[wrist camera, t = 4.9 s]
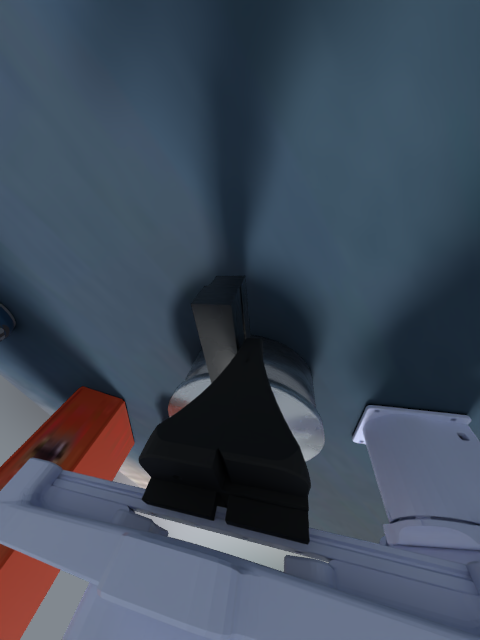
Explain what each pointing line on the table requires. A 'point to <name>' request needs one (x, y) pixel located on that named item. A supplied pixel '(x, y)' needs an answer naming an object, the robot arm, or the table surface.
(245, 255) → the table surface
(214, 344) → the cooker lid
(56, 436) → the file binder
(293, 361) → the cooker pot
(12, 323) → the soda can
